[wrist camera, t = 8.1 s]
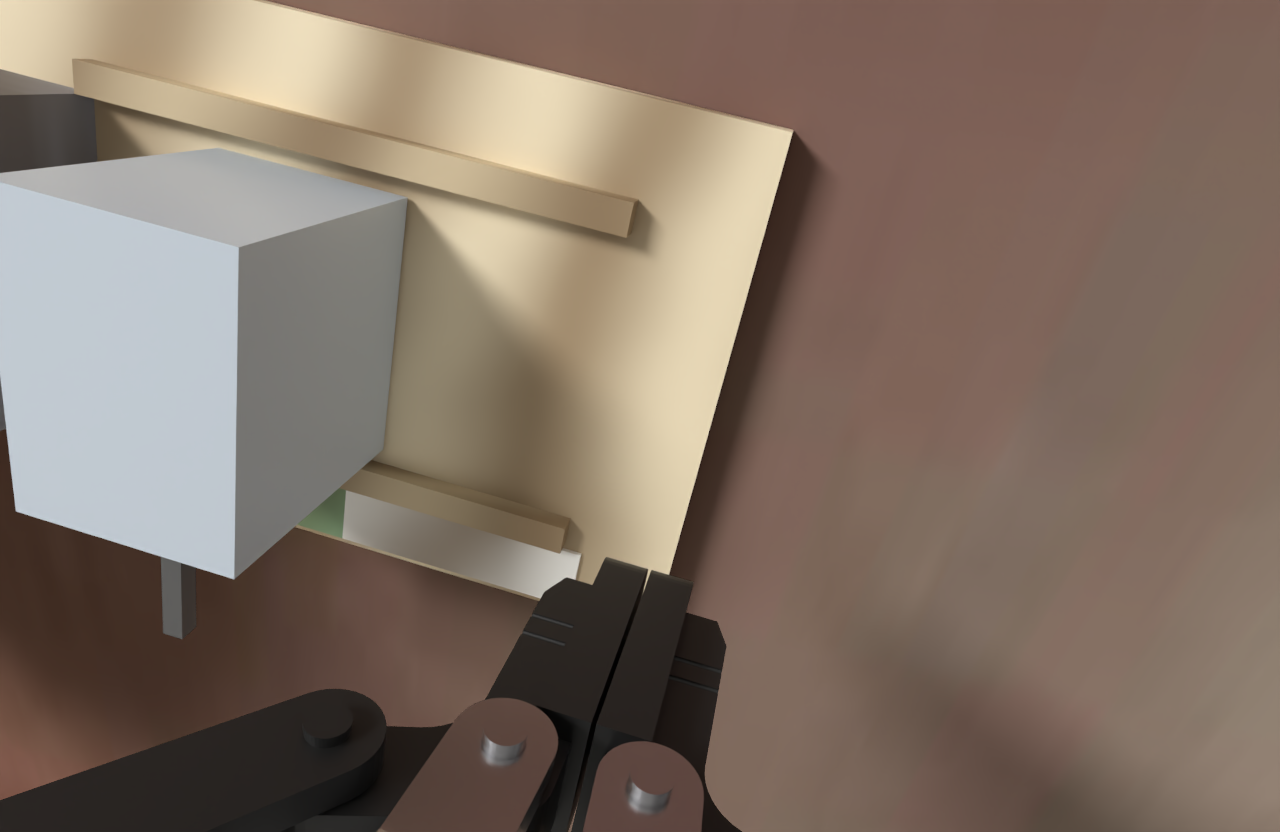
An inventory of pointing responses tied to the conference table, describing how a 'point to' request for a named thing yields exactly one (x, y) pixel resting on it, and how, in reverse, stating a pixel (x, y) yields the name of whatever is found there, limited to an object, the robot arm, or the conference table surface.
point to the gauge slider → (193, 351)
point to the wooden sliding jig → (458, 257)
